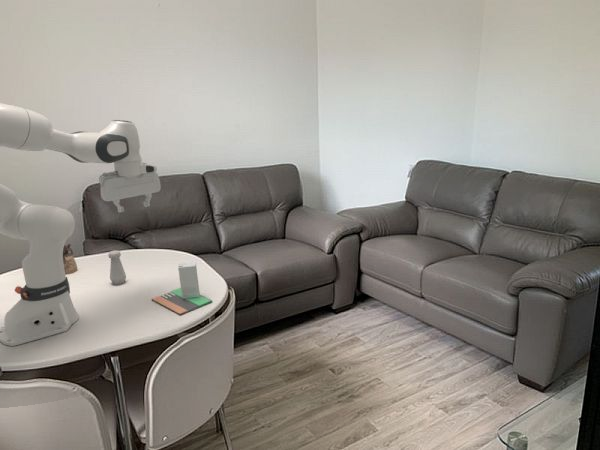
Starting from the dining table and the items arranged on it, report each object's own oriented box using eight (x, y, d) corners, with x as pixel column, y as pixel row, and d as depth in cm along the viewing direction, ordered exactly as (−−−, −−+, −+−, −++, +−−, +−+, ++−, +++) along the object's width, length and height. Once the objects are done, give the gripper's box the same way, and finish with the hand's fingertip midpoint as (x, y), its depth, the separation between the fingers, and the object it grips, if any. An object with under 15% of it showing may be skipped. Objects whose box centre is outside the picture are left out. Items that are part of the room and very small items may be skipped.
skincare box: (199, 292, 162) (196, 261, 159) (199, 297, 158) (196, 265, 155) (182, 294, 161) (178, 262, 158) (181, 299, 157) (178, 267, 153)
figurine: (59, 270, 190) (54, 243, 187) (77, 267, 193) (73, 240, 190) (58, 275, 184) (53, 248, 181) (77, 272, 187) (72, 245, 184)
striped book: (180, 315, 147) (180, 313, 147) (151, 300, 159) (151, 298, 158) (212, 302, 156) (212, 300, 156) (183, 288, 168) (183, 286, 168)
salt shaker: (129, 280, 178) (124, 249, 174) (122, 285, 172) (117, 254, 169) (115, 279, 178) (110, 248, 175) (108, 285, 173) (103, 253, 169)
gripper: (102, 174, 141) (109, 217, 145) (160, 166, 156) (165, 204, 159) (93, 172, 145) (100, 213, 149) (151, 164, 160) (155, 202, 164)
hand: (134, 209), depth 154 cm, fingers open, 8 cm apart
